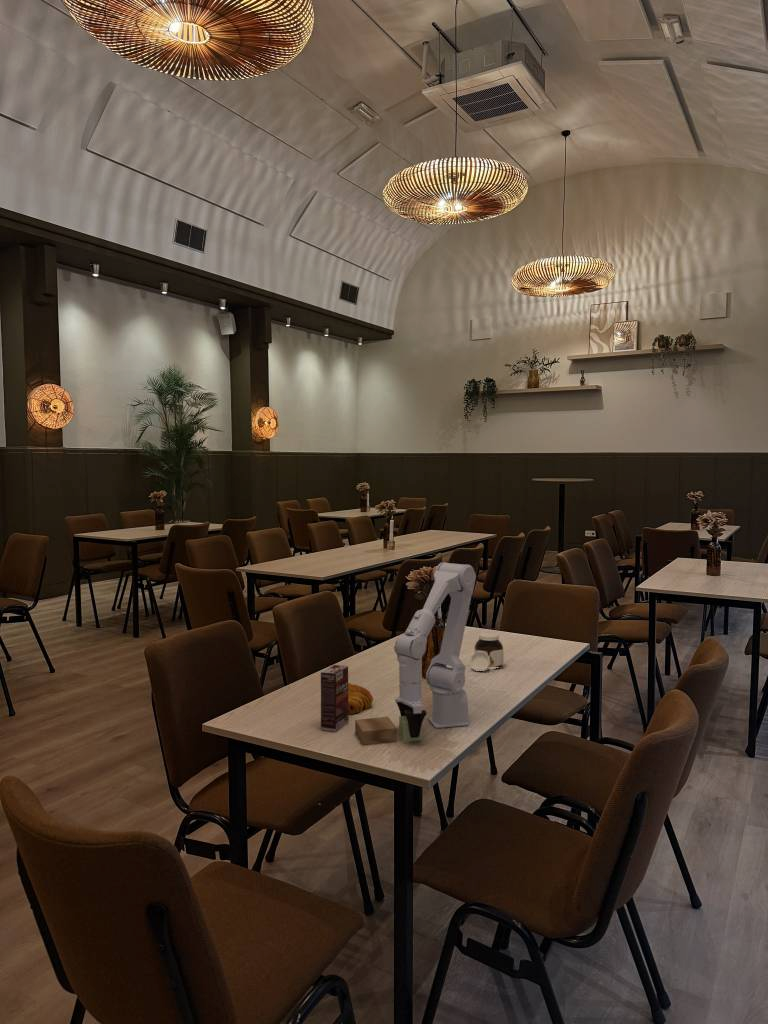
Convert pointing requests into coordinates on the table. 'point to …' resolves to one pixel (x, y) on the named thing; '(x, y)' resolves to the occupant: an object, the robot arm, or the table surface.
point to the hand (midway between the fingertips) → (410, 731)
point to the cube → (407, 730)
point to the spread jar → (487, 652)
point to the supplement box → (334, 698)
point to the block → (375, 731)
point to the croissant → (358, 699)
